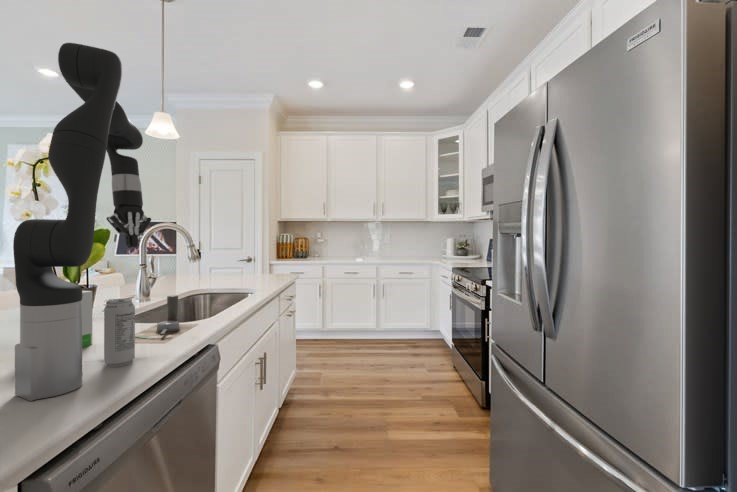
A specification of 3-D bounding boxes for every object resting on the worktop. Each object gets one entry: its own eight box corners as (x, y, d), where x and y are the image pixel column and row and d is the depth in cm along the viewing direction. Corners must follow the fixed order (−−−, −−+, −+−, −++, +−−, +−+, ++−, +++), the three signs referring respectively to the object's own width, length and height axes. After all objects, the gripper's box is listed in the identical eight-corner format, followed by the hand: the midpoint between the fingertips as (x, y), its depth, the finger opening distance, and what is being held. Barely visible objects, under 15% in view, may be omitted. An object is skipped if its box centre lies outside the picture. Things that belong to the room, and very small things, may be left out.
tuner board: (164, 347, 100) (164, 342, 100) (115, 347, 100) (115, 342, 100) (198, 327, 122) (198, 323, 122) (158, 327, 122) (158, 323, 122)
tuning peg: (163, 323, 121) (163, 295, 121) (183, 322, 123) (183, 295, 123) (150, 338, 103) (150, 306, 103) (174, 336, 105) (174, 305, 105)
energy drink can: (124, 357, 92) (125, 297, 91) (140, 361, 89) (140, 299, 89) (98, 365, 86) (98, 301, 86) (114, 369, 83) (114, 303, 83)
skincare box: (62, 358, 90) (62, 294, 90) (40, 356, 92) (40, 293, 91) (94, 348, 99) (94, 290, 98) (73, 346, 100) (73, 289, 100)
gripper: (113, 186, 105) (119, 247, 105) (155, 191, 117) (161, 245, 117) (96, 190, 108) (102, 249, 107) (139, 195, 120) (144, 248, 120)
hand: (132, 247), depth 112 cm, fingers closed
